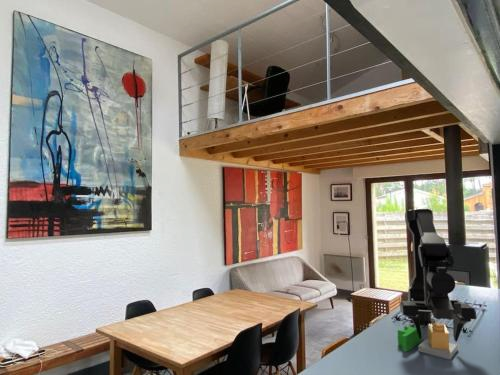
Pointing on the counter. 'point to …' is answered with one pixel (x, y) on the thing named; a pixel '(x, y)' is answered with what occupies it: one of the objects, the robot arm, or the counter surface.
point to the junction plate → (438, 350)
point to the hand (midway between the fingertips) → (437, 339)
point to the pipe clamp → (408, 338)
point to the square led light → (438, 335)
